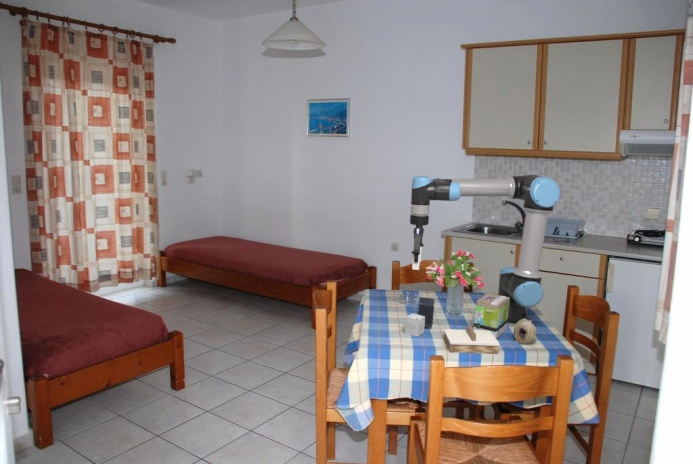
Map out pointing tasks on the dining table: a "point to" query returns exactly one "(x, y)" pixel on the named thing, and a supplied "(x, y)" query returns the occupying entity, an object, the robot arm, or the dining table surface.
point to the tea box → (492, 314)
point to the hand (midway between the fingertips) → (416, 265)
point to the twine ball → (524, 331)
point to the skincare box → (414, 324)
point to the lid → (470, 337)
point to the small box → (426, 311)
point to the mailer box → (471, 348)
